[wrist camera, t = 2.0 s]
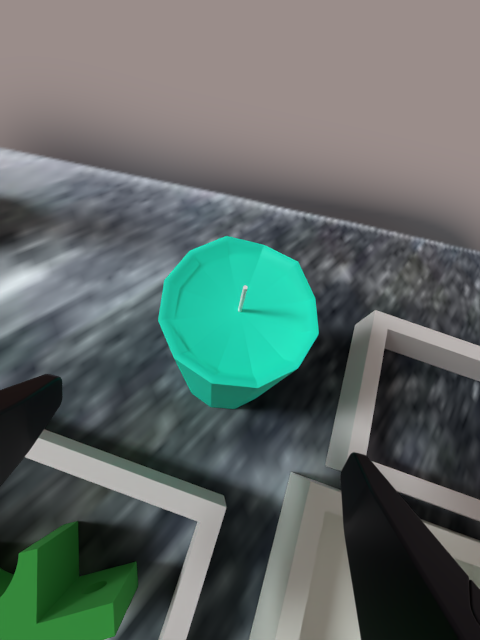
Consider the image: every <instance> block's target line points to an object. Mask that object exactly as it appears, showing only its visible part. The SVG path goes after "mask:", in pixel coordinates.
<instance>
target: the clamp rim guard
mask: <svg viewBox="0 0 480 640" xmlns="http://www.w3.org/2000/svg"><path fill="white" fill-rule="evenodd" d="M25 457H26V458H29V459H31V460H34V461H37V462H39V463H42V464H45V465H48V466H50V467H53V468H56V469H58V470H61V471H64V472H66V473H69V474H72V475H74V476H77V477H80V478H82V479H85V480H88V481H90V482H93V483H96V484H99V485H101V486H104V487H107V488H109V489H112V490H115V491H117V492H120V493H123V494H125V495H128V496H131V497H133V498H136V499H139V500H142V501H144V502H147V503H150V504H152V505H155V506H158V507H160V508H163V509H166V510H168V511H171V512H174V513H176V514H179V515H182V516H184V517H187V518H190V519H193V520H195V521H198V522H197V525H196V528H195V531H194V534H193V537H192V540H191V543H190V546H189V549H188V552H187V555H186V558H185V561H184V564H183V567H182V570H181V573H180V576H179V579H178V582H177V585H176V589H175V592H174V595H173V598H172V601H171V604H170V607H169V610H168V613H167V616H166V619H165V622H164V625H163V628H162V631H161V634H160V637H159V640H186V638H187V635H188V631H189V628H190V625H191V622H192V618H193V615H194V612H195V609H196V605H197V602H198V599H199V596H200V592H201V589H202V586H203V583H204V579H205V576H206V573H207V569H208V566H209V563H210V560H211V556H212V553H213V550H214V547H215V543H216V540H217V537H218V534H219V530H220V527H221V524H222V520H223V517H224V514H225V511H226V503H225V498H224V495H221V494H218V493H216V492H213V491H210V490H207V489H205V488H202V487H199V486H197V485H194V484H191V483H188V482H186V481H183V480H180V479H178V478H175V477H172V476H169V475H167V474H164V473H161V472H159V471H156V470H153V469H151V468H148V467H145V466H142V465H140V464H137V463H134V462H132V461H129V460H126V459H123V458H121V457H118V456H115V455H113V454H110V453H107V452H104V451H102V450H99V449H96V448H94V447H91V446H88V445H85V444H83V443H80V442H77V441H75V440H72V439H69V438H66V437H64V436H61V435H58V434H56V433H53V432H50V431H47V430H45V429H44V430H43V432H42V433H41V435H40V436H39V438H38V439H37V441H36V442H35V444H34V445H33V446H32V448H31V449H30V451H29V452H28V453H27V454H26V456H25Z"/></svg>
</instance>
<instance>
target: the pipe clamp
mask: <svg viewBox="0 0 480 640" xmlns="http://www.w3.org/2000/svg"><path fill="white" fill-rule="evenodd" d="M137 588H138V576H137V562H133V563H129V564H125V565H121V566H117V567H114V568H110V569H106V570H102V571H98V572H94V573H91V574H87V575H83V576H79V540H78V521H77V522H72V523H68V524H64V525H62V526H61V527H59V528H58V529H56V530H55V531H53V532H51V533H50V534H48V535H47V536H45V537H43V538H42V539H40V540H39V541H37V542H36V543H34V544H32V545H31V546H29V547H28V548H26V549H25V550H23V551H21V552H20V553H19V556H18V563H17V567H16V571H15V574H11V573H8V572H6V571H4V570H3V569H1V568H0V640H104V639H107V638H110V637H114V636H115V635H116V632H117V630H118V628H119V626H120V624H121V622H122V620H123V617H124V615H125V613H126V611H127V609H128V607H129V605H130V602H131V600H132V598H133V596H134V594H135V592H136V590H137Z"/></svg>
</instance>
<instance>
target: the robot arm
mask: <svg viewBox="0 0 480 640" xmlns="http://www.w3.org/2000/svg"><path fill="white" fill-rule="evenodd" d="M61 402H62V379H61V377H59V376H55V375H51V374H44V375H41V376H39V377H36V378H33V379H30V380H27V381H25V382H22V383H19V384H16V385H13V386H10V387H8V388H5V389H2V390H0V486H1V485H2V484H3V483H4V481H5V480H6V479H7V478H8V477H9V475H10V474H11V473H12V472H13V470H14V469H15V468H16V467H17V466H18V464H19V463H20V462H21V461H22V460H23V458H24V457H25V456H26V454H27V453H28V452H29V451H30V449H31V448H32V446H33V445H34V444H35V442H36V441H37V439H38V438H39V436H40V435H41V433H42V432H43V430H44V429H45V427H46V426H47V424H48V423H49V421H50V420H51V418H52V417H53V415H54V414H55V412H56V411H57V409H58V408H59V406H60V404H61ZM341 495H342V512H343V527H344V536H345V543H346V549H347V555H348V562H349V568H350V574H351V580H352V587H353V593H354V599H355V605H356V612H357V618H358V624H359V630H360V637H361V640H480V589H479V588H478V587H477V585H476V584H475V583H474V582H473V581H472V580H469V576H468V575H467V574H466V573H465V571H464V570H463V569H462V568H461V567H460V565H459V564H458V563H457V562H456V561H455V559H454V558H453V557H452V556H451V555H450V554H449V552H448V551H447V550H446V549H445V548H444V546H443V545H442V544H441V543H440V542H439V541H438V539H437V538H436V537H435V536H434V535H433V533H432V532H431V531H430V530H429V529H428V528H427V526H426V525H425V524H424V523H423V522H422V520H421V519H420V518H419V517H418V516H417V514H416V513H415V512H414V511H413V510H412V509H411V507H410V506H409V505H408V504H407V503H406V501H405V500H404V499H403V498H402V497H401V496H400V494H399V493H398V492H397V491H396V490H395V488H394V487H393V486H392V485H391V484H390V483H389V481H388V480H387V479H386V478H385V477H384V475H383V474H382V473H381V472H380V471H379V469H378V468H377V467H376V466H375V465H374V464H373V462H372V461H371V460H370V459H369V458H368V457H367V456H366V455H364V454H360V453H356V452H352V453H351V454H350V456H349V457H348V459H347V461H346V463H345V465H344V467H343V468H342V471H341Z"/></svg>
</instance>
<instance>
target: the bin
mask: <svg viewBox="0 0 480 640" xmlns="http://www.w3.org/2000/svg"><path fill="white" fill-rule="evenodd" d="M421 520H422V519H421ZM422 522H423V523H424V524H425V525H426V526H427V528H428V529H429V530H430V531H431V532H432V533H433V535H434V536H435V537H436V538H437V539H438V541H439V542H440V543H441V544H442V545H443V546H444V548H445V549H446V550H447V551H448V552H449V554H450V555H451V556H452V557H453V558H454V559H455V561H456V562H457V563H458V564H459V565H460V567H461V568H462V569H463V570H464V571H465V573H466V574H467V575H468V576H469V580H472V581H473V582H474V583H475V584H476V585H477V587H478V588H479V589H480V540H477V539H474V538H472V537H469V536H466V535H464V534H461V533H458V532H455V531H453V530H450V529H447V528H444V527H442V526H439V525H436V524H433V523H431V522H428V521H425V520H422ZM249 640H361V637H360V630H359V624H358V618H357V612H356V605H355V599H354V593H353V587H352V580H351V574H350V568H349V562H348V555H347V549H346V543H345V536H344V527H343V512H342V495H341V490H340V489H337V488H334V487H332V486H329V485H326V484H323V483H321V482H318V481H315V480H312V479H310V478H307V477H304V476H301V475H299V474H296V473H293V472H291V473H290V477H289V481H288V485H287V489H286V493H285V497H284V501H283V505H282V509H281V513H280V517H279V521H278V525H277V529H276V533H275V537H274V541H273V545H272V549H271V553H270V557H269V561H268V565H267V569H266V573H265V577H264V581H263V586H262V590H261V594H260V598H259V602H258V606H257V610H256V614H255V618H254V622H253V626H252V630H251V634H250V638H249Z"/></svg>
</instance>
